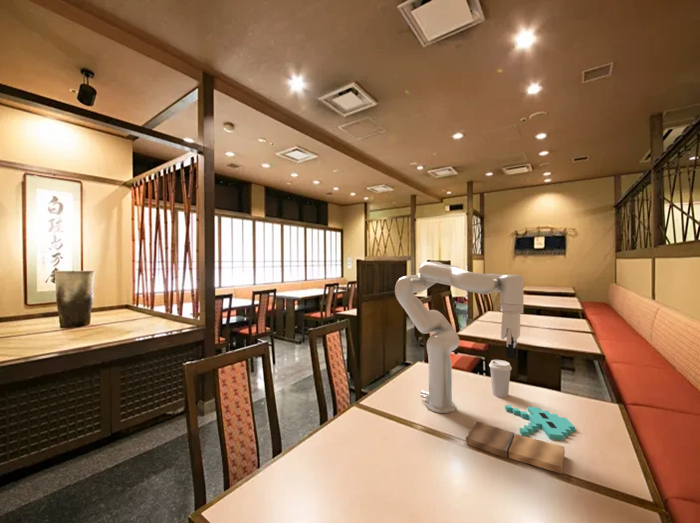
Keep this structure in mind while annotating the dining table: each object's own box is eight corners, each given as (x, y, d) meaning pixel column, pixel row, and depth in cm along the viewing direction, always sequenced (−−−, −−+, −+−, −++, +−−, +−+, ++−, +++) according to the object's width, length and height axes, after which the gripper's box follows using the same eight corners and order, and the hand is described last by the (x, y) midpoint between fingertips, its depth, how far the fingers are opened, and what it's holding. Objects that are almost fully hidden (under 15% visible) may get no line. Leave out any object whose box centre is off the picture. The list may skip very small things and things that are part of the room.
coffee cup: (486, 389, 146) (486, 358, 146) (508, 390, 144) (508, 359, 144) (492, 398, 137) (491, 365, 137) (514, 400, 135) (514, 366, 135)
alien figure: (522, 437, 108) (585, 444, 104) (522, 431, 108) (585, 437, 104) (504, 410, 127) (557, 414, 123) (504, 404, 127) (557, 409, 123)
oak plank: (508, 457, 96) (508, 451, 96) (515, 439, 105) (515, 434, 105) (562, 474, 87) (561, 467, 87) (564, 452, 97) (564, 446, 97)
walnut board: (466, 443, 103) (466, 436, 103) (476, 426, 114) (476, 420, 114) (507, 458, 96) (507, 451, 96) (514, 439, 106) (514, 432, 106)
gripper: (504, 304, 119) (504, 351, 119) (495, 309, 107) (496, 361, 107) (526, 306, 114) (526, 354, 114) (519, 312, 102) (519, 365, 102)
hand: (511, 357), depth 111 cm, fingers closed
